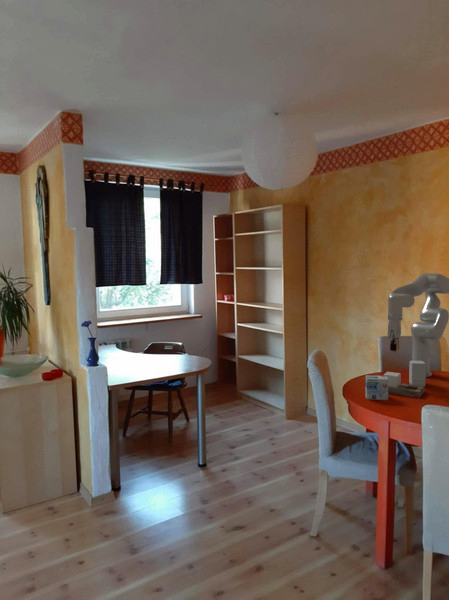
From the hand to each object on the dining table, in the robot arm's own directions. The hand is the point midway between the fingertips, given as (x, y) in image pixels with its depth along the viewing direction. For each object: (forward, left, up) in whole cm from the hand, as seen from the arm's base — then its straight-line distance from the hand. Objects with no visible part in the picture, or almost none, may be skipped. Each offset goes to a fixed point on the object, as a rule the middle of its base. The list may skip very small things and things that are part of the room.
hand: (394, 349), depth 256 cm
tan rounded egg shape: (0, 0, -1) cm, 1 cm away
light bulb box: (+30, 0, -20) cm, 36 cm away
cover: (+14, +3, -16) cm, 22 cm away
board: (+14, +8, -19) cm, 25 cm away
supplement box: (-5, +11, -20) cm, 23 cm away
